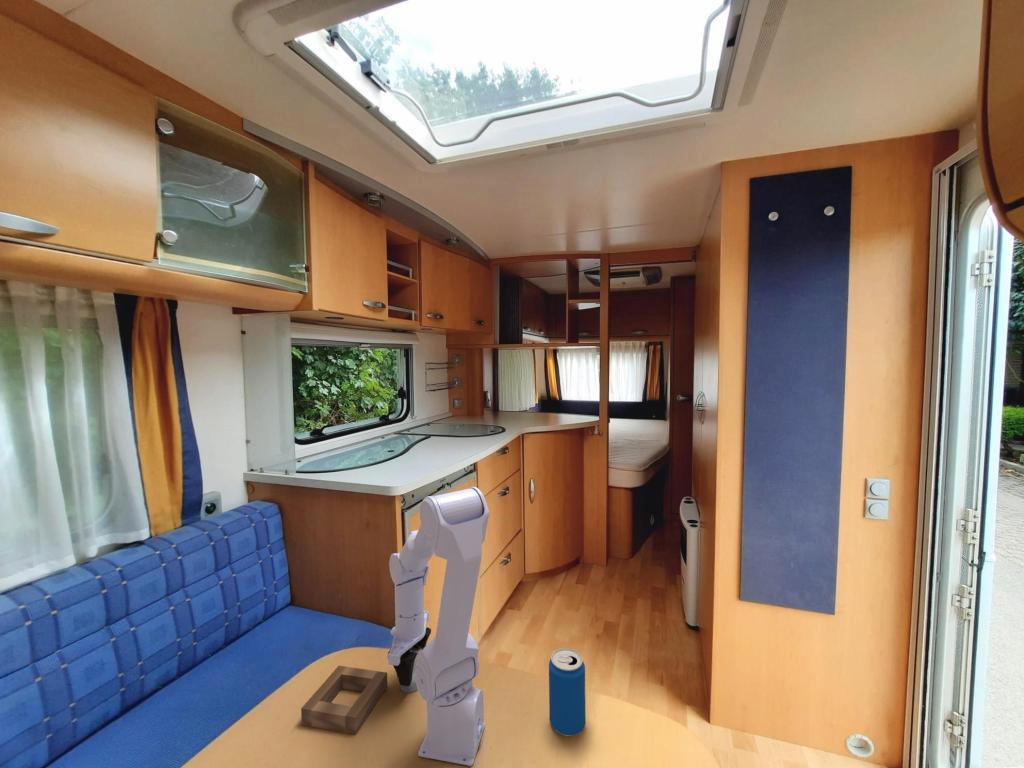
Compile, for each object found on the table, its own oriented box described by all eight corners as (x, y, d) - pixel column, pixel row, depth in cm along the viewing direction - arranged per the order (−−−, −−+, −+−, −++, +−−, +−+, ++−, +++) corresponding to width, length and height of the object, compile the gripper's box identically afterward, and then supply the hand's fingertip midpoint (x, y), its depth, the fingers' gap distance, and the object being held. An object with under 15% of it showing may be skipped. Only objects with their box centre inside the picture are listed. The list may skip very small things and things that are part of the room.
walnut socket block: (387, 687, 82) (387, 672, 82) (356, 734, 71) (355, 717, 71) (339, 679, 84) (338, 665, 84) (301, 724, 73) (301, 708, 73)
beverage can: (585, 742, 69) (584, 673, 68) (547, 736, 70) (546, 668, 70) (586, 711, 75) (585, 648, 75) (551, 706, 76) (550, 644, 76)
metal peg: (425, 678, 84) (425, 645, 84) (416, 694, 80) (415, 659, 80) (406, 675, 85) (405, 642, 85) (396, 691, 81) (395, 656, 80)
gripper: (407, 589, 90) (408, 649, 90) (372, 629, 76) (374, 700, 76) (437, 592, 89) (438, 653, 89) (407, 633, 74) (408, 706, 75)
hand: (411, 675), depth 82 cm, fingers closed on metal peg, 4 cm apart
